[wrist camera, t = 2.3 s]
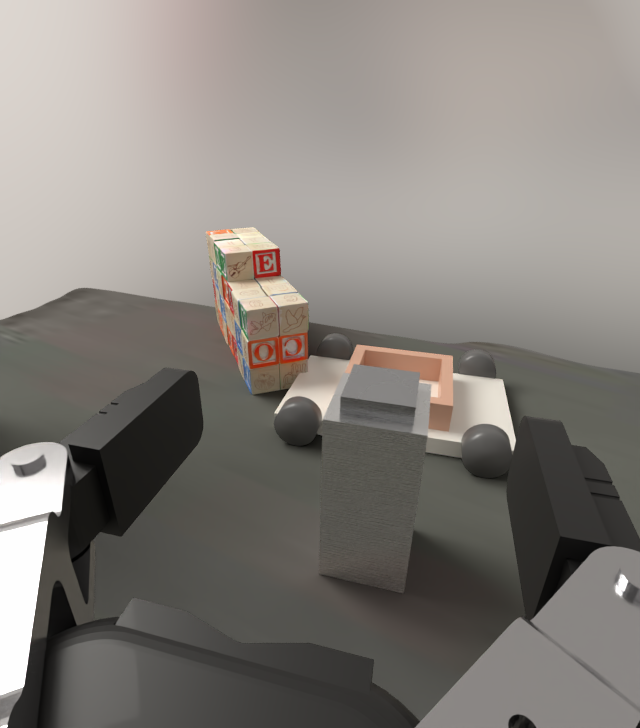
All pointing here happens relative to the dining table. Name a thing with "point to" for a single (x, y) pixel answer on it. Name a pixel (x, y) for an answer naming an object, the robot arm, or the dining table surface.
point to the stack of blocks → (258, 309)
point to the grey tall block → (372, 475)
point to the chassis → (447, 404)
